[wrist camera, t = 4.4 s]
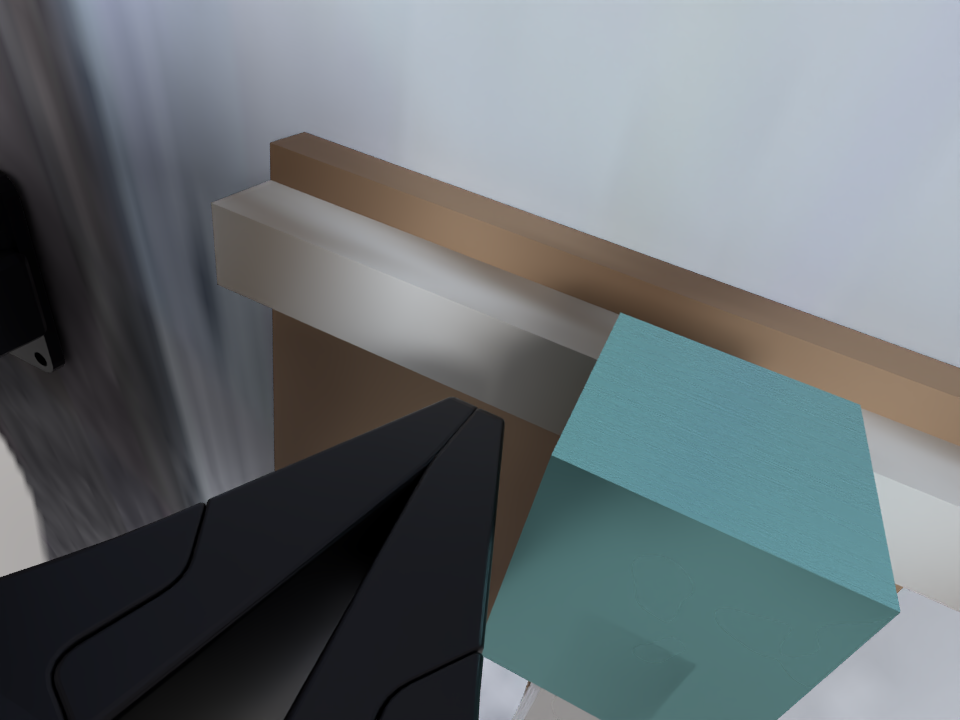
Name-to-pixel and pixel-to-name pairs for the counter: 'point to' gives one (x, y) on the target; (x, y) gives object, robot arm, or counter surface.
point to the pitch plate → (574, 259)
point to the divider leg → (693, 543)
